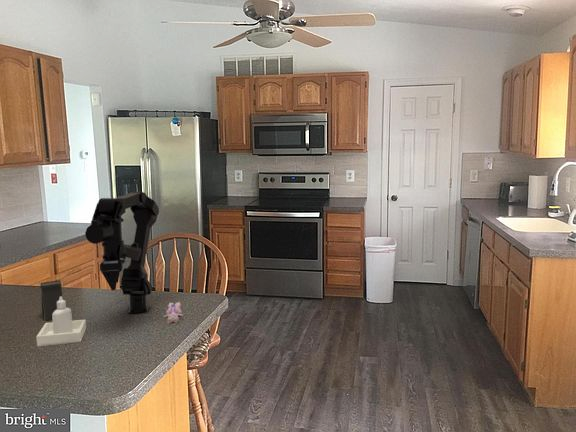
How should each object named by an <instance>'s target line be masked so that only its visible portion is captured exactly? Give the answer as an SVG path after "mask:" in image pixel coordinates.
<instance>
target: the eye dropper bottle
mask: <svg viewBox="0 0 576 432" xmlns="http://www.w3.org/2000/svg"><path fill="white" fill-rule="evenodd" d="M62 297H63V296H62ZM62 297H59V301H57V310H55V311H54V312H53V314H52V320H51V321H52V322H53V334H60V333H70V332H73V327H72V321H73V315H72V309H71V308H70V307H67V305H66V303H67V302H66V300H64V299H63V298H62Z"/></svg>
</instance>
